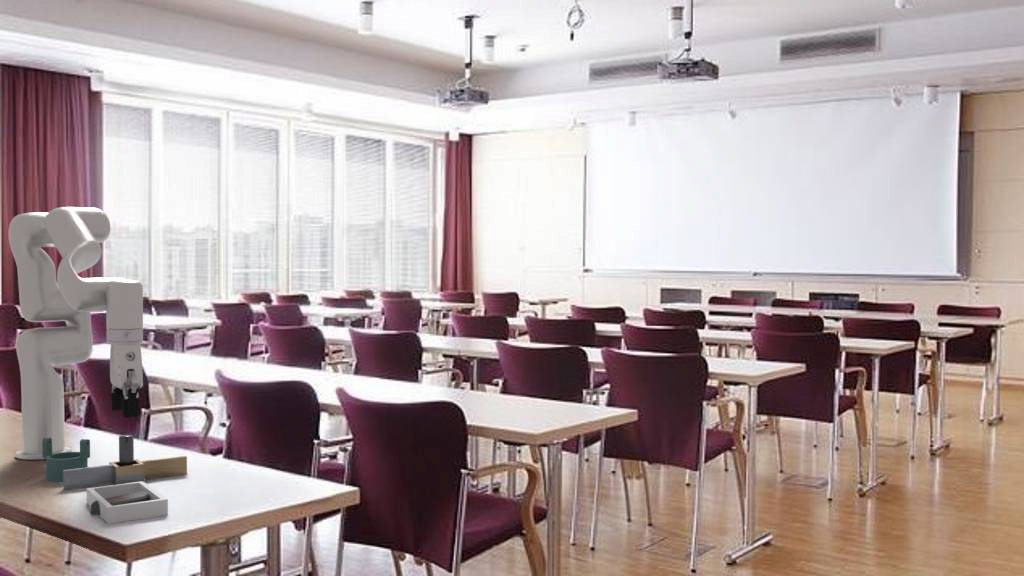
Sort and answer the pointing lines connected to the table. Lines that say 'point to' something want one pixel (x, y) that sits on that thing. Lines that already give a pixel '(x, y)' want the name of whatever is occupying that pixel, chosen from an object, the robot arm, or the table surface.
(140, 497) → the usb flash stick
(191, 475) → the table surface
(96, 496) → the parts tray frame
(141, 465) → the hinge
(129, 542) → the table surface
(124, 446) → the hinge pin
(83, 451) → the teal round tub
